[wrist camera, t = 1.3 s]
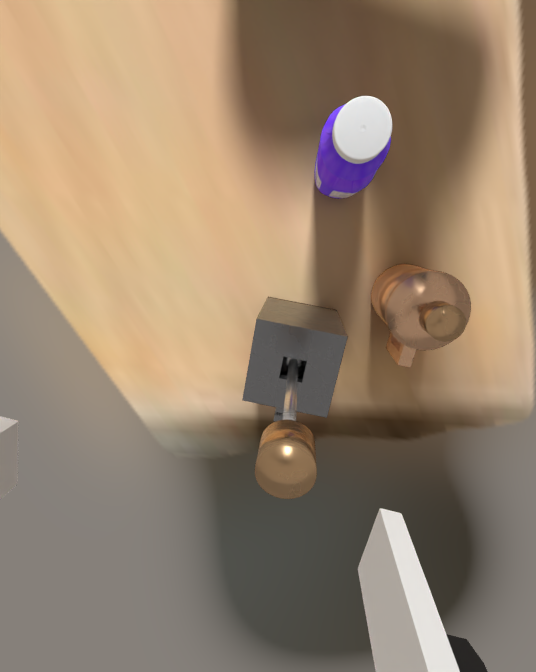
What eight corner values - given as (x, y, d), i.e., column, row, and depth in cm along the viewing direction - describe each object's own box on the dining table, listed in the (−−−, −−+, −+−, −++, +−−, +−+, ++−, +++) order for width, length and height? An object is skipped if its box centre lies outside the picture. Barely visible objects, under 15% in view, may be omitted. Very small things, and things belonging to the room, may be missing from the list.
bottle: (356, 204, 43) (391, 188, 26) (309, 196, 43) (313, 175, 26) (371, 136, 41) (419, 71, 24) (321, 128, 41) (334, 59, 24)
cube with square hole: (268, 296, 47) (256, 318, 35) (336, 310, 46) (347, 336, 35) (252, 381, 50) (238, 425, 39) (316, 394, 50) (320, 443, 39)
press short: (379, 256, 44) (414, 269, 30) (444, 268, 44) (510, 287, 30) (357, 338, 47) (380, 383, 33) (418, 350, 47) (467, 400, 33)
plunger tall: (268, 324, 38) (237, 410, 20) (331, 336, 38) (357, 435, 20) (257, 382, 40) (220, 507, 22) (317, 394, 40) (329, 531, 22)
